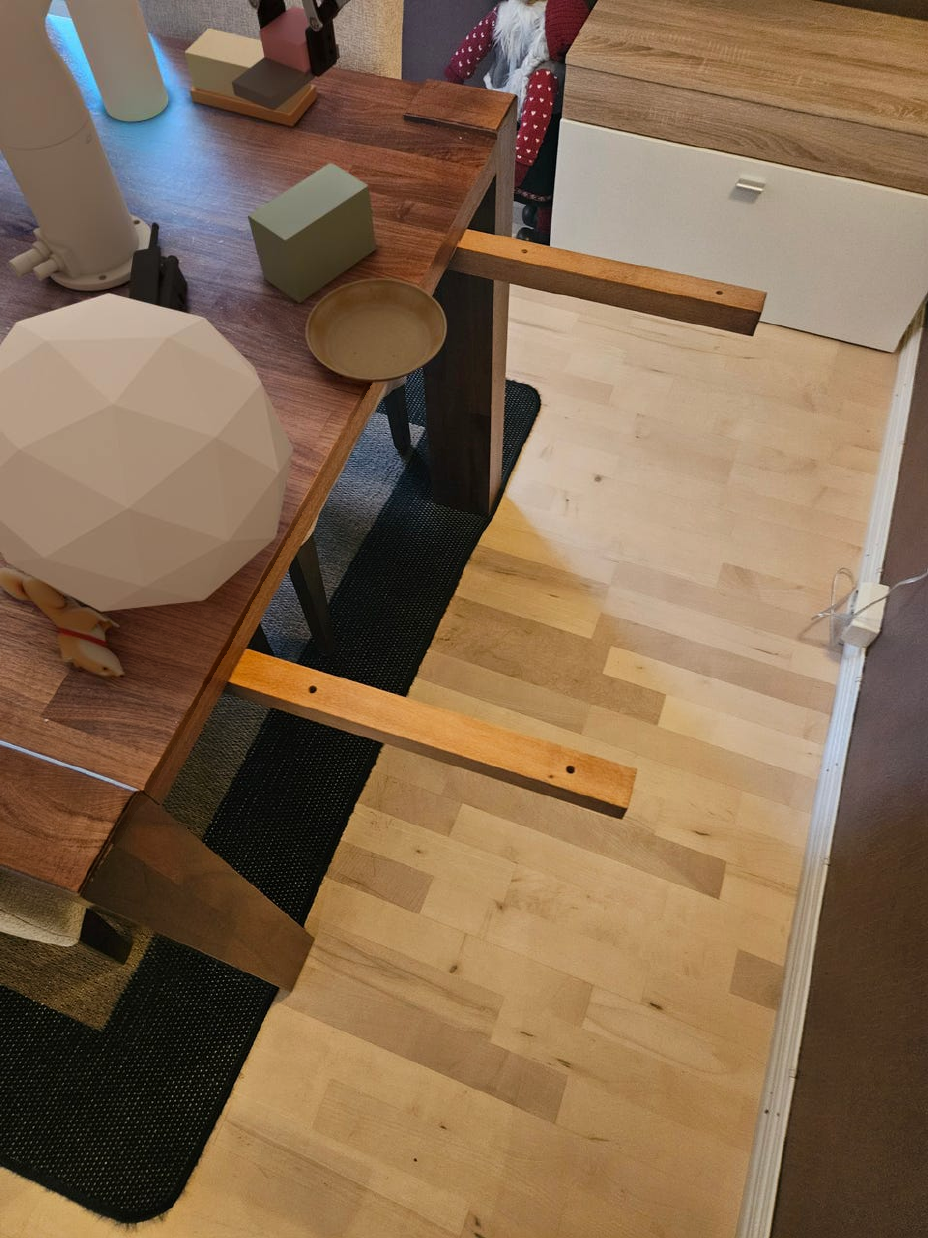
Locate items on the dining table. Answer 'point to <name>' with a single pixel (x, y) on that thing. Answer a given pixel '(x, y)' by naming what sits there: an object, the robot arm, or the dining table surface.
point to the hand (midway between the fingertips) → (301, 58)
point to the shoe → (225, 60)
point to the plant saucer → (376, 329)
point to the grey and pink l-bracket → (279, 62)
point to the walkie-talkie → (157, 277)
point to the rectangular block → (314, 231)
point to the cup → (120, 57)
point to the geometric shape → (134, 454)
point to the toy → (68, 623)
